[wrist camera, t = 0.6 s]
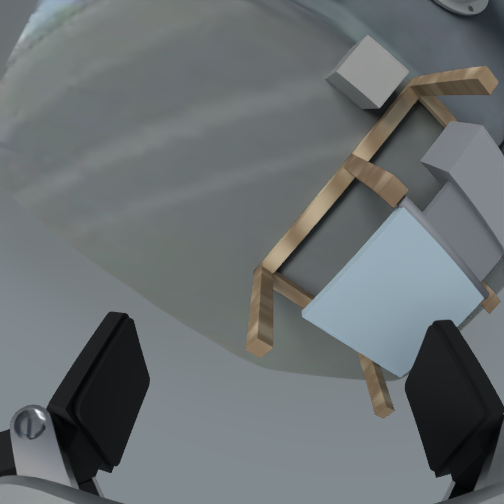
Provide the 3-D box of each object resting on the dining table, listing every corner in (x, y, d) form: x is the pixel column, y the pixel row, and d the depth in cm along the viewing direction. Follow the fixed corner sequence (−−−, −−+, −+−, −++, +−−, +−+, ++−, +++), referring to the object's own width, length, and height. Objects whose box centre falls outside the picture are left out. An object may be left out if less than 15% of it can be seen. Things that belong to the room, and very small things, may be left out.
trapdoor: (444, 114, 21) (476, 117, 17) (517, 217, 24) (545, 234, 20) (296, 290, 29) (300, 323, 24) (392, 354, 32) (404, 386, 27)
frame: (412, 77, 27) (486, 65, 14) (499, 185, 31) (570, 221, 18) (254, 271, 38) (245, 349, 25) (360, 340, 42) (383, 418, 29)
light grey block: (351, 47, 27) (367, 34, 21) (387, 77, 28) (409, 71, 22) (324, 79, 28) (336, 71, 23) (361, 109, 29) (379, 108, 24)
